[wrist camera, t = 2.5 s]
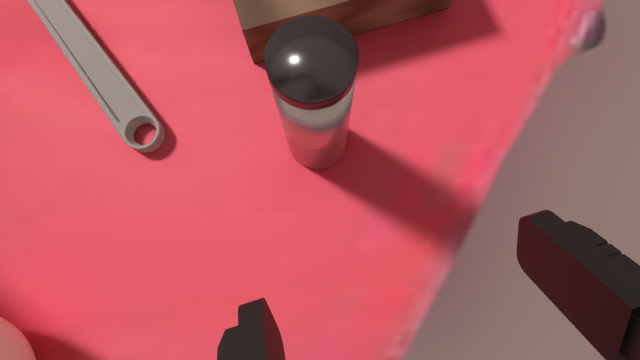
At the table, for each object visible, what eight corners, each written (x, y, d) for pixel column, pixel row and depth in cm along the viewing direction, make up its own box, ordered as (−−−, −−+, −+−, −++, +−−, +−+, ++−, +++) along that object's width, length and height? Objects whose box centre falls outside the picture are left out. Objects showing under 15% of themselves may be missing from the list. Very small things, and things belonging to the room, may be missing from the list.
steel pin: (298, 176, 26) (278, 111, 16) (282, 124, 27) (253, 29, 16) (353, 159, 26) (371, 84, 16) (335, 108, 27) (341, 4, 17)
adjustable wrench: (177, 141, 28) (167, 133, 26) (98, 190, 27) (82, 184, 25) (34, -90, 32) (18, -110, 31) (-36, -53, 32) (-57, -72, 30)
